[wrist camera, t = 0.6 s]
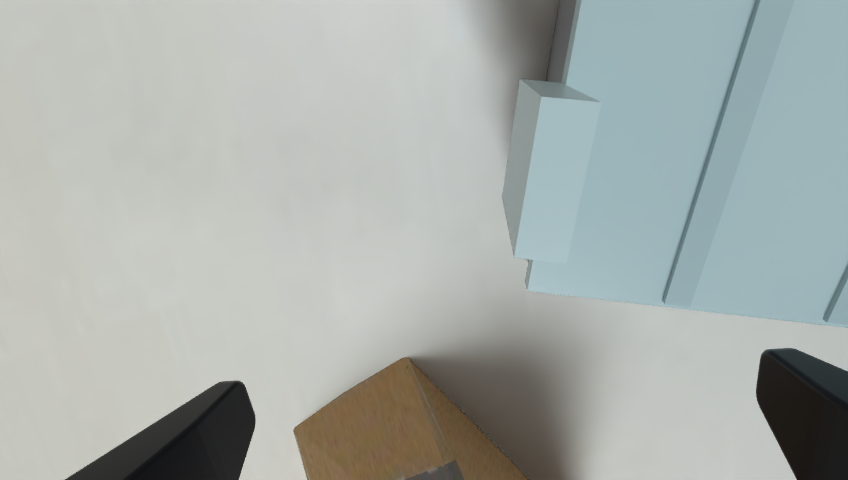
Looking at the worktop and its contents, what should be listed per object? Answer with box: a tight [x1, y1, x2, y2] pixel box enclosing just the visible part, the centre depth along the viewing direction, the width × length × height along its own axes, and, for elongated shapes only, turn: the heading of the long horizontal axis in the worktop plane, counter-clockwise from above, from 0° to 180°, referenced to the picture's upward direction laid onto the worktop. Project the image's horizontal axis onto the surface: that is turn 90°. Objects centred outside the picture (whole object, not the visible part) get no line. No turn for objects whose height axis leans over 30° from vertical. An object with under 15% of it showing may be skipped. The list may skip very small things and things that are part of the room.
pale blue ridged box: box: [502, 0, 848, 328], centre depth 12 cm, size 16×9×5 cm, turn 85°
